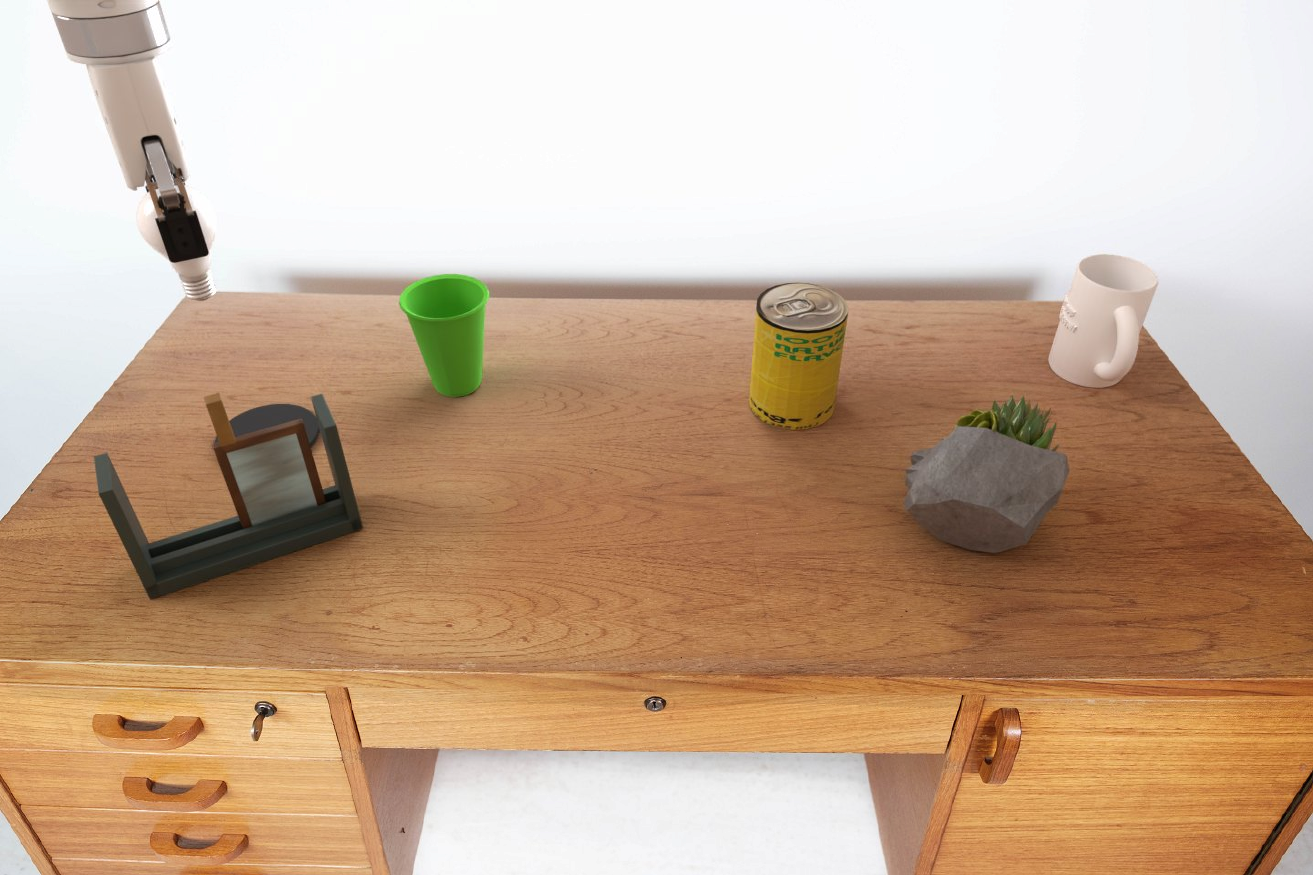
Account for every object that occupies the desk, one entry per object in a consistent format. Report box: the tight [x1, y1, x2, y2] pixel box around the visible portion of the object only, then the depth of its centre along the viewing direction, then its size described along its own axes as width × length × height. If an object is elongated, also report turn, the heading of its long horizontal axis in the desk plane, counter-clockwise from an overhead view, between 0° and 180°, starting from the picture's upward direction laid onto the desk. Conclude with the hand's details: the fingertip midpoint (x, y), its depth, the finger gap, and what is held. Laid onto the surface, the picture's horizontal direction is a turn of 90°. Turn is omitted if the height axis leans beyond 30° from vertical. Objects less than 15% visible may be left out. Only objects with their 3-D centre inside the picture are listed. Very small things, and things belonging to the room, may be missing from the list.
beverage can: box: [748, 282, 849, 431], centre depth 99 cm, size 9×9×12 cm
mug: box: [1047, 253, 1159, 389], centre depth 102 cm, size 8×12×12 cm
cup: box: [398, 273, 490, 398], centre depth 101 cm, size 9×9×11 cm
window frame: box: [93, 393, 364, 600], centre depth 82 cm, size 18×5×12 cm, turn 118°
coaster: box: [214, 403, 321, 448], centre depth 97 cm, size 10×10×1 cm
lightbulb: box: [136, 184, 218, 302], centre depth 86 cm, size 6×6×11 cm
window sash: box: [203, 392, 326, 529], centre depth 81 cm, size 7×1×14 cm, turn 118°
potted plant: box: [902, 394, 1070, 554], centre depth 86 cm, size 12×13×15 cm
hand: (183, 239), depth 86 cm, fingers closed on lightbulb, 6 cm apart
